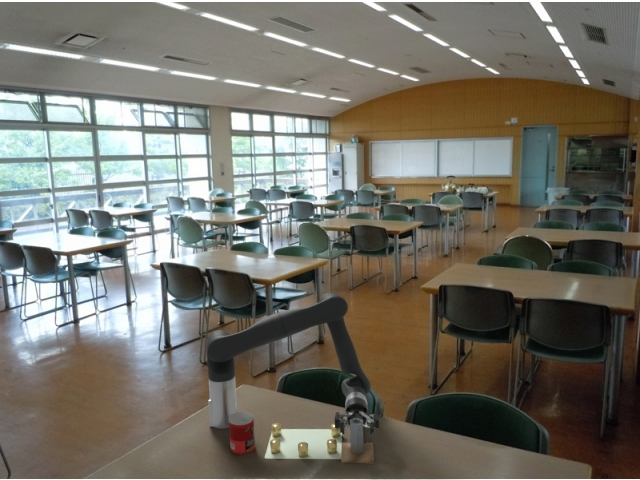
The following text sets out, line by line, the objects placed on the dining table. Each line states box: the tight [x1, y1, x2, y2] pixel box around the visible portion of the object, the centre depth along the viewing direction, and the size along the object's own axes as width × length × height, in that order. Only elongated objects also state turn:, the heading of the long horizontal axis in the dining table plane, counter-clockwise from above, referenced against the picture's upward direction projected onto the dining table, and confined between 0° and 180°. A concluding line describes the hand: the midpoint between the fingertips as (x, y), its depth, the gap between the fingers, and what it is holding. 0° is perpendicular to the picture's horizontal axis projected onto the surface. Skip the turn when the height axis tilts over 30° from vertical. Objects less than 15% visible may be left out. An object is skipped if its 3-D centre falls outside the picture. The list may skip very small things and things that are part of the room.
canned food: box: [228, 411, 256, 456], centre depth 170 cm, size 8×8×11 cm
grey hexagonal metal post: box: [349, 418, 364, 455], centre depth 165 cm, size 4×5×10 cm
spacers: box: [270, 422, 341, 458], centre depth 171 cm, size 23×15×4 cm, turn 87°
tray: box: [340, 442, 375, 465], centre depth 166 cm, size 10×10×1 cm
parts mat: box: [264, 428, 343, 460], centre depth 173 cm, size 24×18×1 cm
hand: (357, 431), depth 162 cm, fingers open, 8 cm apart
